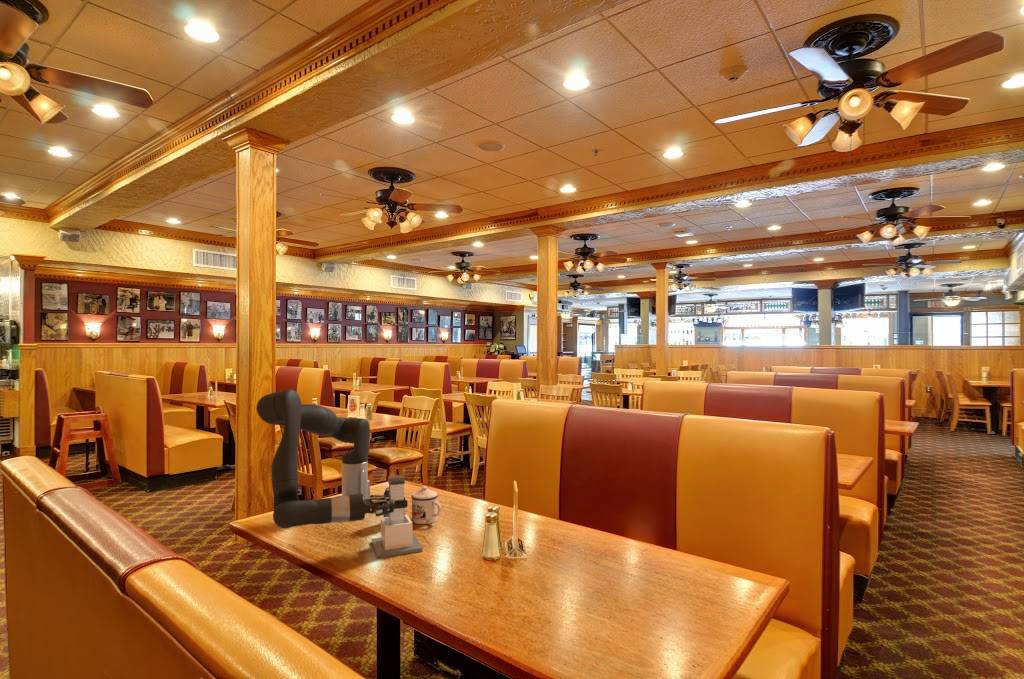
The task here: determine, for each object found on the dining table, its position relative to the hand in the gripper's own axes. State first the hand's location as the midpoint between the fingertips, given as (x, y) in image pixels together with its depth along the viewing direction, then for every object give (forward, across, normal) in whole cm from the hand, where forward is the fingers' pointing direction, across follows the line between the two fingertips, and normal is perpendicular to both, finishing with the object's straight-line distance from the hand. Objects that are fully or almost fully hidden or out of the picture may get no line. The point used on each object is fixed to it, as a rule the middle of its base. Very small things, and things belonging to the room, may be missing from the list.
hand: (405, 501), depth 166 cm
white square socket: (-3, 0, +13) cm, 14 cm away
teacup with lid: (+11, +18, +14) cm, 25 cm away
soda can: (0, +20, +14) cm, 24 cm away
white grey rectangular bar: (-3, 0, +10) cm, 10 cm away
